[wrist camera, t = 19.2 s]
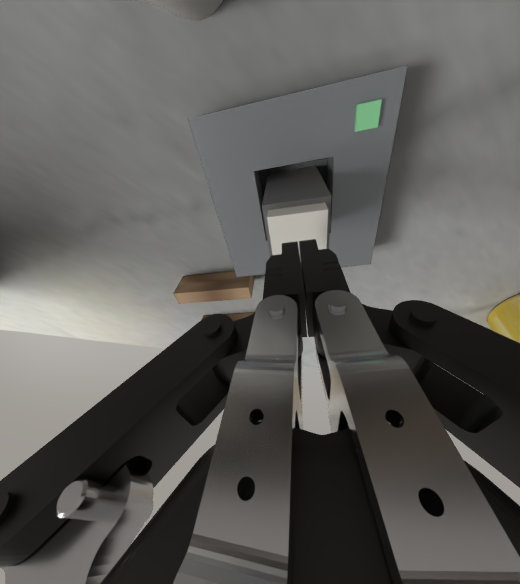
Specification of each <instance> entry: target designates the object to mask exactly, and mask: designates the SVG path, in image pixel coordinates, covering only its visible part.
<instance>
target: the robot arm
mask: <svg viewBox="0 0 520 584" xmlns="http://www.w3.org/2000/svg"><path fill="white" fill-rule="evenodd" d="M299 249H300V255H299ZM305 311H306V314H305ZM306 319H307V327H308V336H309V337H315V344H316V357H317V361H318V366H319V370H320V374H321V379H322V383H323V387H324V392H325V396H326V401H327V405H328V411H329V420H330V425H331V431H332V433H330V434H327V435H318V434H315V433H311V432H308V431H305V430H303V418H302V351H303V341H302V337H307V330H306ZM434 363H435V364H434ZM437 365H438V366H437ZM439 366H440V367H441V368H440V367H439ZM442 368H443V369H442ZM445 370H446V371H445ZM447 371H448V372H449V373H448V372H447ZM450 373H451V374H450ZM453 375H454V376H453ZM455 376H456V377H457V378H456V377H455ZM458 378H459V379H458ZM461 380H462V381H461ZM463 381H464V382H465V383H464V382H463ZM466 383H467V384H466ZM469 385H470V386H469ZM471 386H472V387H473V388H472V387H471ZM474 388H475V389H474ZM477 390H478V391H477ZM479 391H480V392H481V393H480V392H479ZM482 393H483V394H482ZM223 409H224V412H223V416H222V420H221V424H220V428H219V432H218V436H217V440H216V444H215V445H214V446H212V447H211V448H210V449H209V450H208V451H207V452H206V453H205V454H204V455H203V456H202V457H201V458H200V459H199V460H198V461H197V463H195V465H194V466H193V467H192V469H191V470H190V471H189V472H188V474H187V475H186V476H185V477H184V479H183V480H182V481H181V482H180V484H179V485H178V486H177V487H176V489H175V490H174V491H173V492H172V494H171V495H170V496H169V498H168V499H167V500H166V501H165V503H164V504H163V505H162V506H161V508H160V509H159V510H158V511H157V513H156V514H155V515H154V516H153V518H152V519H151V520H150V522H149V523H148V524H147V525H146V526H145V528H144V529H143V530H142V532H141V533H140V534H139V535H138V537H137V538H136V539H135V540H134V542H133V543H132V541H133V539H134V538H135V536H136V535H137V533H138V532H139V530H140V529H141V528H142V526H143V524H144V523H145V522H146V521H147V519H148V518H149V516H150V515H151V513H152V510H153V488H154V487H155V486H156V485H157V483H158V482H159V481H160V480H161V479H162V478H163V477H164V476H165V474H166V473H167V472H168V471H169V470H170V469H171V468H172V466H173V465H174V464H175V463H176V462H177V461H178V460H179V459H180V458H181V456H182V455H183V454H184V453H185V452H186V451H187V450H188V448H189V447H190V446H191V445H192V444H193V443H194V442H195V441H196V439H197V438H198V437H199V436H200V435H201V434H202V433H203V432H204V431H205V429H206V428H207V427H208V426H209V425H210V424H211V423H212V421H213V420H214V419H215V418H216V417H217V416H218V415H219V414H220V413H221V411H222V410H223ZM445 429H446V430H447V431H449V432H450V433H451V434H452V435H454V436H455V437H456V438H457V439H459V440H460V441H461V442H463V443H464V444H465V445H466V446H468V447H469V448H470V449H471V450H473V451H474V452H475V453H477V454H478V455H479V456H480V457H481V458H483V459H484V460H485V461H487V462H488V463H489V464H490V465H492V466H493V467H494V468H495V469H497V470H498V471H499V472H501V473H502V474H503V475H504V476H506V477H507V478H508V479H509V480H511V481H512V482H513V483H514V484H516V485H517V486H518V487H520V343H519V342H516V341H514V340H512V339H510V338H508V337H505V336H503V335H501V334H499V333H496V332H494V331H492V330H490V329H488V328H485V327H483V326H481V325H479V324H477V323H474V322H472V321H470V320H468V319H465V318H463V317H461V316H459V315H457V314H454V313H452V312H450V311H448V310H446V309H443V308H441V307H439V306H437V305H434V304H432V303H428V302H424V301H417V300H410V301H404V302H402V303H399V304H398V305H397V306H396V307H395V308H394V310H393V311H391V310H385V309H378V308H373V307H369V306H366V305H364V304H362V303H361V302H360V300H359V299H358V298H357V297H356V296H355V295H353V294H351V293H350V291H349V288H348V285H347V282H346V280H345V277H344V274H343V272H342V269H341V266H340V264H339V261H338V258H337V256H336V254H335V253H334V252H332V251H331V250H330V249H321V250H318V246H317V242H316V239H311V240H303V241H299V247H298V241H296V242H288V243H282V254H279V255H271V257H270V258H269V259H268V261H267V262H266V271H265V282H264V293H263V300H262V301H261V302H260V303H259V304H258V306H257V308H256V312H254V313H253V314H251V315H249V316H247V317H245V318H242V319H239V320H236V321H233V320H232V319H231V318H230V317H229V316H227V315H224V314H214V315H210V316H208V317H206V318H204V319H203V320H201V321H200V322H199V323H197V324H196V325H195V326H194V327H192V328H191V329H190V330H189V331H187V332H186V333H185V334H184V335H182V336H181V337H180V338H179V339H177V340H176V341H175V342H174V343H172V344H171V345H170V346H169V347H167V348H166V349H165V350H164V351H162V352H161V353H160V354H159V355H157V356H156V357H155V358H154V359H152V360H151V361H150V362H149V363H147V364H146V365H145V366H144V367H142V368H141V369H140V370H139V371H137V372H136V373H135V374H134V375H132V376H131V377H130V378H129V379H127V380H126V381H125V382H124V383H122V384H121V385H120V386H119V387H117V388H116V389H115V390H113V391H112V392H111V393H110V394H109V395H107V396H106V397H105V398H103V399H102V400H101V401H100V402H98V403H97V404H96V405H95V406H94V407H92V408H91V409H90V410H88V411H87V412H86V413H85V414H83V415H82V416H81V417H80V418H78V419H77V420H76V421H75V422H73V423H72V424H71V425H70V426H68V427H67V428H66V429H65V430H63V431H62V432H61V433H60V434H59V435H57V436H56V437H55V438H53V439H52V440H51V441H50V442H48V443H47V444H46V445H45V446H43V447H42V448H41V449H40V450H38V451H37V452H36V453H35V454H33V455H32V456H31V457H30V458H28V459H27V460H26V461H25V462H23V463H22V464H21V465H20V466H18V467H17V468H16V469H15V470H13V471H12V472H11V473H10V474H8V475H7V476H6V477H5V478H3V479H2V480H1V481H0V567H1V568H2V569H4V571H5V578H6V584H520V506H519V505H518V504H517V503H516V502H514V501H513V500H512V499H511V498H510V497H508V496H507V495H506V494H505V493H504V492H503V491H501V489H499V488H498V487H497V486H496V485H495V484H493V483H492V482H491V481H490V480H489V479H488V478H486V477H485V476H484V475H483V474H481V473H480V472H479V471H478V470H476V469H475V468H474V467H472V466H471V465H470V464H468V463H467V462H466V461H464V460H463V459H462V457H461V455H460V454H459V452H458V450H457V448H456V447H455V445H454V443H453V442H452V440H451V438H450V436H449V435H448V433H447V431H446V430H445ZM131 543H132V544H131ZM129 546H130V547H129Z"/></svg>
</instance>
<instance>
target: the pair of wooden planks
mask: <svg viewBox="0 0 520 584" xmlns="http://www.w3.org/2000/svg"><path fill="white" fill-rule="evenodd" d="M253 285H254V276H253V275H252V276H242V277H237V276H236V273H235V271H231V272H221V273H211V274H201V275H192V276H183V278H182V280H181V281H180V283H179V285H178V286H177V288H176V290H175V292H174V293H173V294H174V296H175V298H176V300H177V301H178V303H192V302H205V301H218V300H231V299H244V298H251V297H252V291H253ZM253 313H254V312H253ZM253 313H237V314H224V315H227V316H229V317H230V318H231V319H232V320H233V321H236V320H239V319H242V318H245V317H247V316H249V315H251V314H253ZM208 316H210V315H206V316H203V318H202V320H203V319H204V318H206V317H208Z"/></svg>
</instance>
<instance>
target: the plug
mask: <svg viewBox="0 0 520 584" xmlns="http://www.w3.org/2000/svg"><path fill="white" fill-rule="evenodd" d="M262 210H263V216H264V222H265V229H266V235H267V242H268V248H269V254H270V257H271V255H279V254H282V243H288V242H296V241H298V247H299V241H303V240H311V239H316V242H317V246H318V250H321V249H329V235H330V215H331V194H330V192H329V190H328V188H327V186H326V184H325V182H324V180H323V179H322V177H321V175H320V173H319V171H318V169H317V167H316V166H312V167H306V168H300V169H294V170H288V171H282V172H276V173H270V174H268V179H267V184H266V188H265V193H264V198H263V202H262ZM299 255H300V249H299Z"/></svg>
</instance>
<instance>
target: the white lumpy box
mask: <svg viewBox="0 0 520 584" xmlns="http://www.w3.org/2000/svg"><path fill="white" fill-rule="evenodd" d="M115 1H129V0H115ZM134 1H143V2H148V3H151V4H154V5H156V6H158V7H160V8H163V9H164V10H166V11H168V12H170V13H172V14H174V15H176V16H179V17H181V18H184V19H188V20H203V19H205V18H207V17H209V16H210V15H212V14H213V13H214V12H215V11H216V10H217V9H218V7H219V6H220V5H221V3H222V2H223V0H134Z"/></svg>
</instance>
